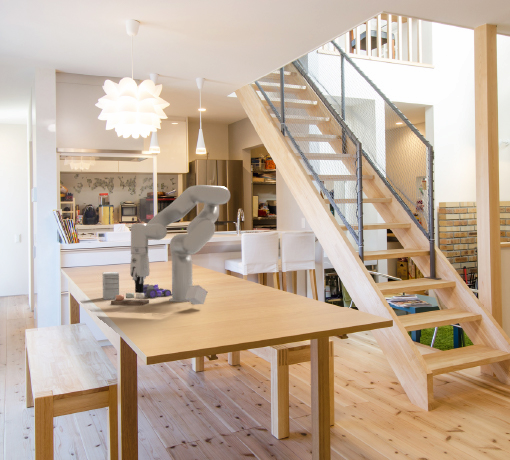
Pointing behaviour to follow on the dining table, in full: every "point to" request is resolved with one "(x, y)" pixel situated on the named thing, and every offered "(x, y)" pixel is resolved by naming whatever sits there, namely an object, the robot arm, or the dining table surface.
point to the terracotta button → (119, 297)
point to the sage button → (129, 295)
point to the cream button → (140, 295)
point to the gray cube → (196, 294)
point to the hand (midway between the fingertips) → (139, 292)
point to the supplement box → (110, 285)
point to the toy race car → (155, 291)
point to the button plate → (129, 302)
